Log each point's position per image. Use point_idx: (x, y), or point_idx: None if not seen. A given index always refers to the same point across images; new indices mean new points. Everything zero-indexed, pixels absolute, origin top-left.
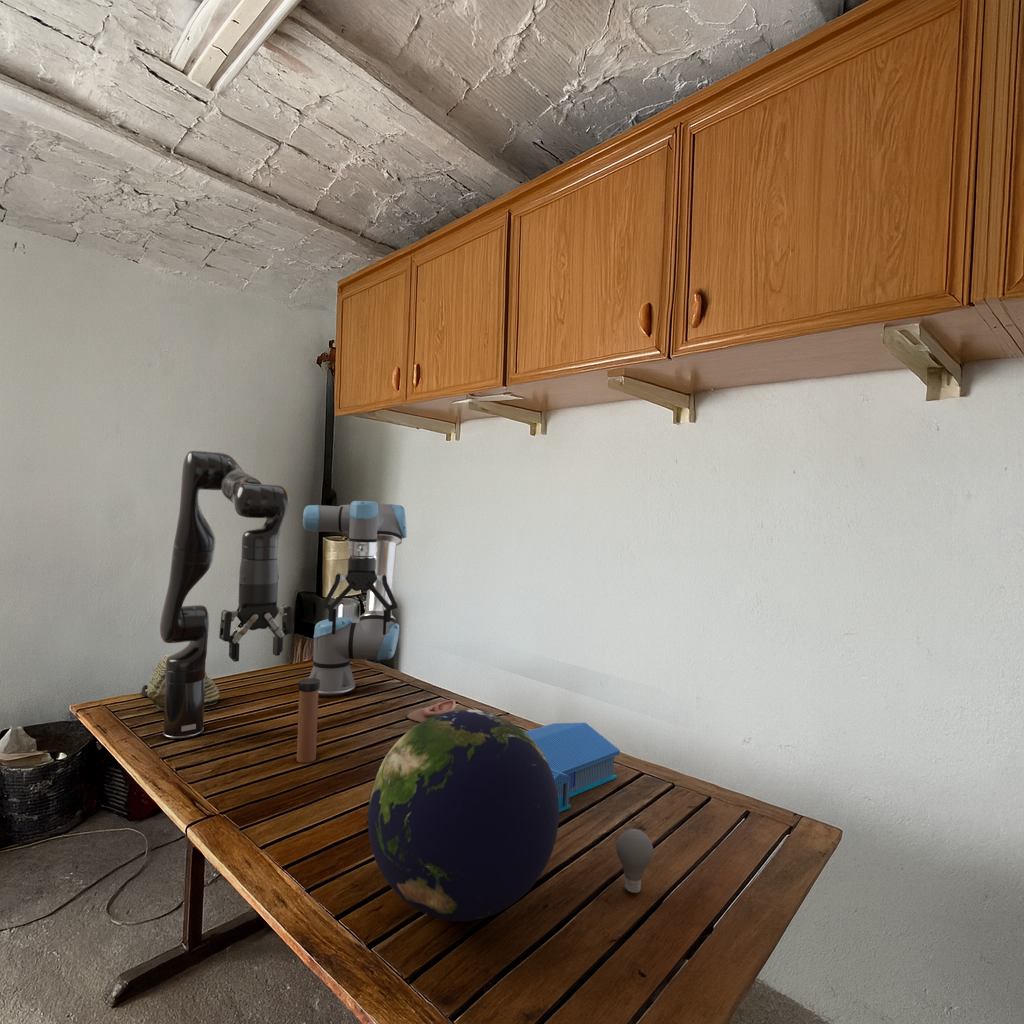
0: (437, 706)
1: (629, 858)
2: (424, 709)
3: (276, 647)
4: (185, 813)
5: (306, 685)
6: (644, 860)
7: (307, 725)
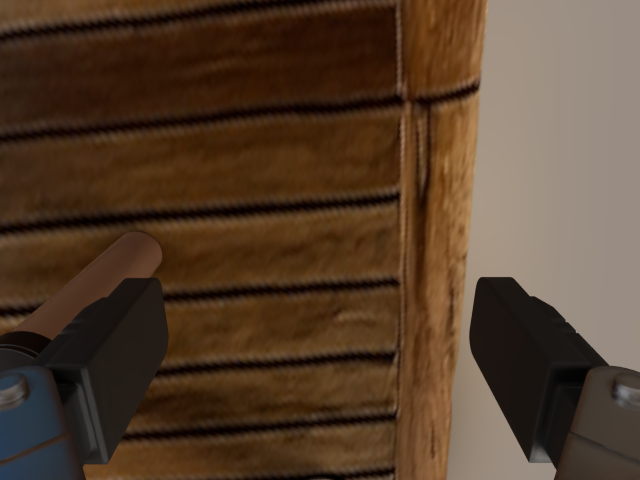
0: None
1: None
2: None
3: (132, 323)
4: (459, 149)
5: (35, 354)
6: None
7: (103, 275)
